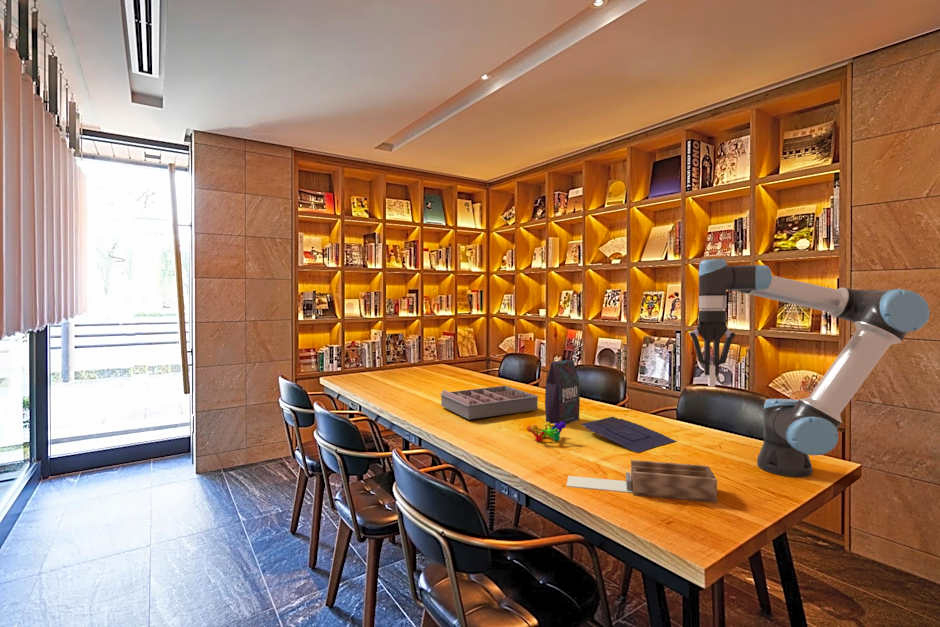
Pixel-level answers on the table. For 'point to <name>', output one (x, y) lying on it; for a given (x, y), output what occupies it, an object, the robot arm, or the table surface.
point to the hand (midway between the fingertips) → (711, 385)
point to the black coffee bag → (562, 393)
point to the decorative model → (547, 431)
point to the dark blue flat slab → (627, 433)
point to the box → (673, 481)
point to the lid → (601, 483)
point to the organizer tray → (488, 401)
